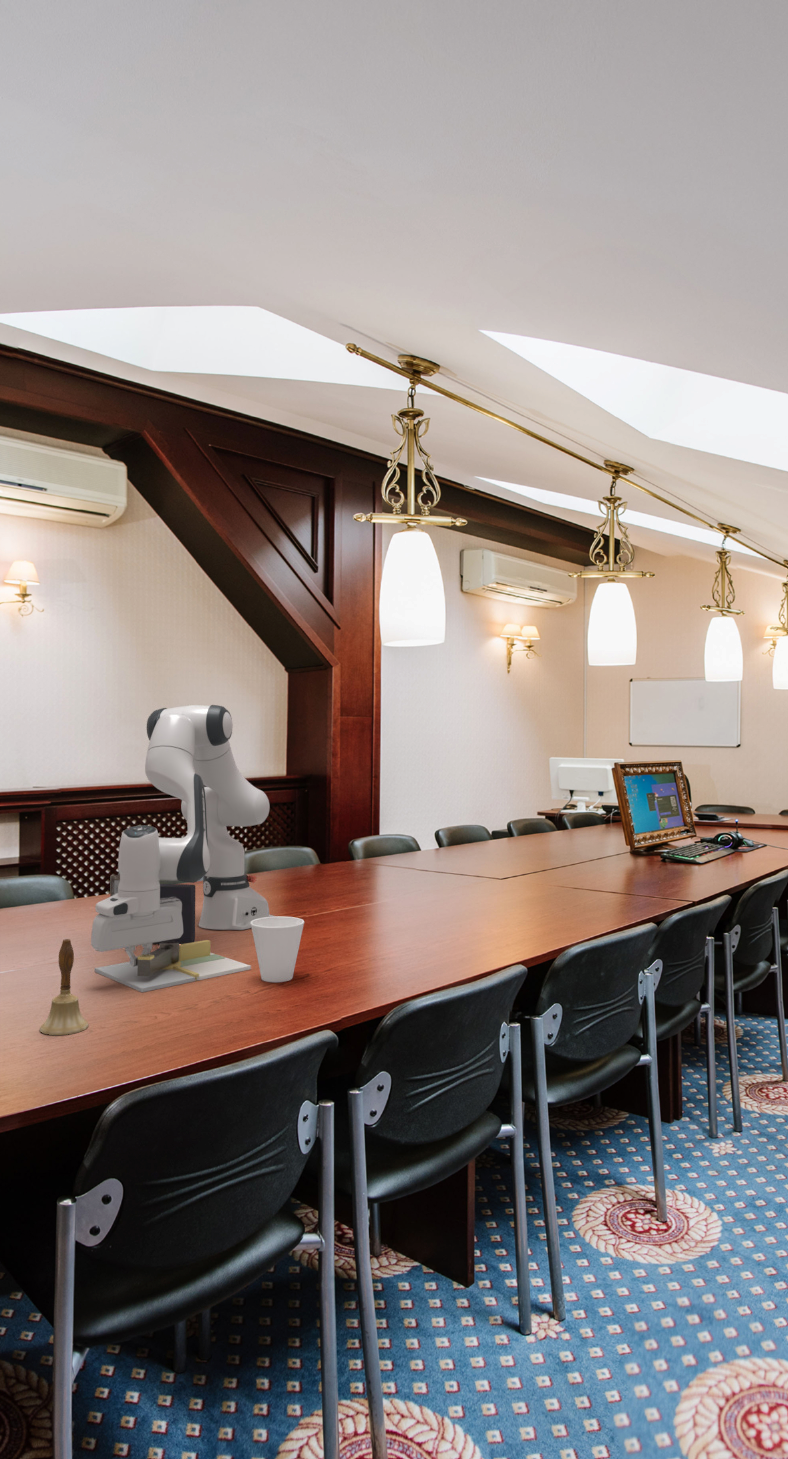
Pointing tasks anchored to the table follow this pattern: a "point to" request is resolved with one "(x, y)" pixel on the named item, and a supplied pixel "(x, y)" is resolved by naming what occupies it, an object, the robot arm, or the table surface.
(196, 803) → the robot arm
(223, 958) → the base
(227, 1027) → the table surface
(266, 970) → the cup
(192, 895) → the dark blue box
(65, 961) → the hand bell
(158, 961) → the bar
